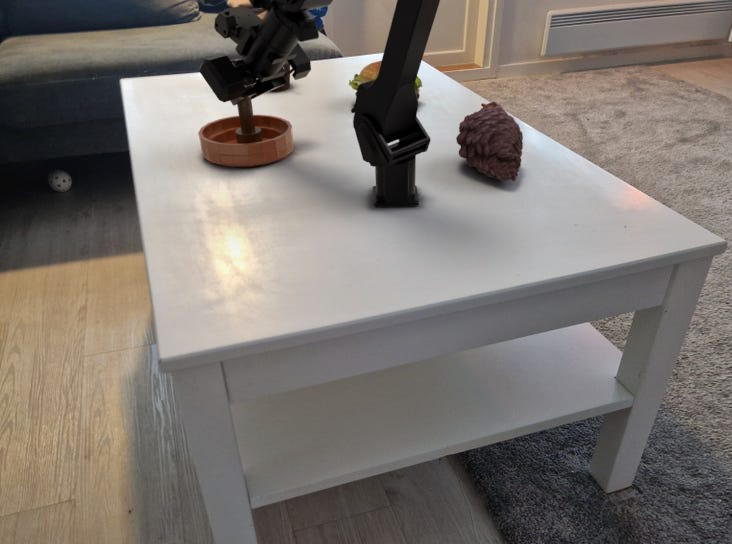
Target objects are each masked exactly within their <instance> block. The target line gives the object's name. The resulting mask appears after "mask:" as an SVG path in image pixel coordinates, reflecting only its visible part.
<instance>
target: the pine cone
mask: <svg viewBox="0 0 732 544" xmlns="http://www.w3.org/2000/svg"><path fill="white" fill-rule="evenodd" d="M480 104H481V108H480V110H478V111H474V112H473V113H471V114H467V115H466V116H464V119H463V121H461V122H459V126H458V132H459V134H457V136H456V138H455V140H456V144H457V145H459V146H460V148H459V150H458V156H459V158H461V159H465V161H466V166H467V167H469V168H471V167H475V168H476V170H477V171H478V172H479V173H481V174H484V175H485V176H486V177H490V178H493V179H497V180H499V181H510V180H511V182H515V181H516V180H517V178H518V175H519V171H520V168H521V166H522V164H521V163H522V158H521V157H522V156H523V151H522V150H523V147H524V143H523V140H524V135H523V131H521V127H520V124H518V123H517V122H516V119H515V118H514V117H513V116H511V115H510V114H508V112H507V111H506V110H505V109H504V108H503V106H502V105H501V104H498V103H497V102H496V101H492V102H489V103H480Z"/></svg>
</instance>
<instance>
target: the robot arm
mask: <svg viewBox="0 0 732 544" xmlns="http://www.w3.org/2000/svg"><path fill="white" fill-rule="evenodd" d="M333 1H334V0H248V2H249V3H250V5H251V6H252V7H253V9H254V8H256V9H262V10H264V11H265V10H266V12H265V14H264V15H263V18H261V17H260V16H258V14H256V13H255V12H254V11H253V10H251V9H250V7H247V6H244V5H239V6H234V7H229V8H224V9H223V10H222V11H219V12H218V14H217V15H216V16H215V18H214V24H213V28H214V30H215V32H216V33H217V34H218V35H219V36H220V37H222V38H223V39H224V40H225V39H230V40H231V41H233V42H234V43H235V44H236V46H235V49H234V50H235V51H236V53H237V54H238V56H239V57H241V56H242V57H243V58H240V59H241V60H238V61H235V60H234V59H230V57H229V55H226V54H222V53H221V54H218V55H213V56H210V57H205V58H203V59H202V62H201V63H200V65H199V69H198V71H199V73H200V75H201V76H202V78H203V79H204V80H205V82H206V84H207V85H208V87H209V88H210V90H211V91H212V92H213V94H214V95H215V96H216V98H217V100H218V101H220V102H222V103H227V102H230V103H231V104H232V106H234V107H235V106H237V104H239V103H241V102H242V101H244V100H246V99H248V98H249V97H251V101H252V100H253V99H256V98H258V97H260V96H262V95H266V94H267V93H270V92H269V91H271V90H274V89H276V88H278V87H280V86H283V85H285V84H286V80H285V79H284V77H283V75H284V73H285V72H286V71H285V68H284V65H287V64H290V68H291V69H293V70H294V71H293V72H292V73H291V77H292V78H293V79H294V81H298V80H301V79H305V78H307V76H308V75H309V73H310V72H311V71H312V63H311V60H310V59H309V57H308V55H307V54H306V51H304V50H303V48H302V46H301V44H300V43H304V42H309V41H313V40H318V39H319V38H320V34H319V29H318V27H317V24H316V23H317V21H316V18H312V16H311V15H310V14H309V12H308V11H311V10H316V9H321V8H326V7H329V6H330V5H331V4H332V3H333ZM440 2H441V0H396V4H395V7H394V12H393V15H392V20H391V23H390V27H389V31H388V34H387V38H386V41H385V46H384V50H383V54H382V57H381V60H380V61H381V65H380V69H379V73H378V75H377V77H376V79H375V80H371V81H368V82H365V83H362V84H360V85H359V87H358V89H357V90H356V92H357V94H356V95H355V102H354V105H353V107H352V108H351V110H350V113H352V114H353V118H352V127H353V129H354V132H355V136H356V141H357V143H358V148H359V150H360V153H361V157H362V161H364V162H366V163H368V164H369V165H370V166H371V167H373V168H374V171H375V172H374V173H375V178H374V179H375V185H373V186H372V201H373V204H372V205H373V207H375V208H376V207H377V208H379V207H380V208H381V207H382V208H383V207H385V208H386V207H418V206H420V198H419V193H418V187H417V185H416V170H417V169H416V167H417V166H416V162H417V159H416V157H417V156H418V155H421V154H422V153H426V152H427V151H428V149H429V145H430V143H431V137H430V135H429V134H428V133H427V131H426V129H425V127H424V126H423V124H422V122H421V121H420V120H419V117H418V116H417V115H418V109H419V99H417V95H416V91H415V87H414V85H415V80H416V77H417V76H418V74H419V71H420V67H421V64H422V61H423V58H424V55H425V51H426V49H427V45H428V41H429V37H430V35H431V32H432V29H433V25H434V21H435V19H436V15H437V13H438V12H437V11H438V9H439V6H440ZM299 42H300V43H299ZM231 60H233V61H231ZM395 141H397V142H395ZM393 142H395V143H393ZM390 143H392V144H390Z"/></svg>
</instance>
